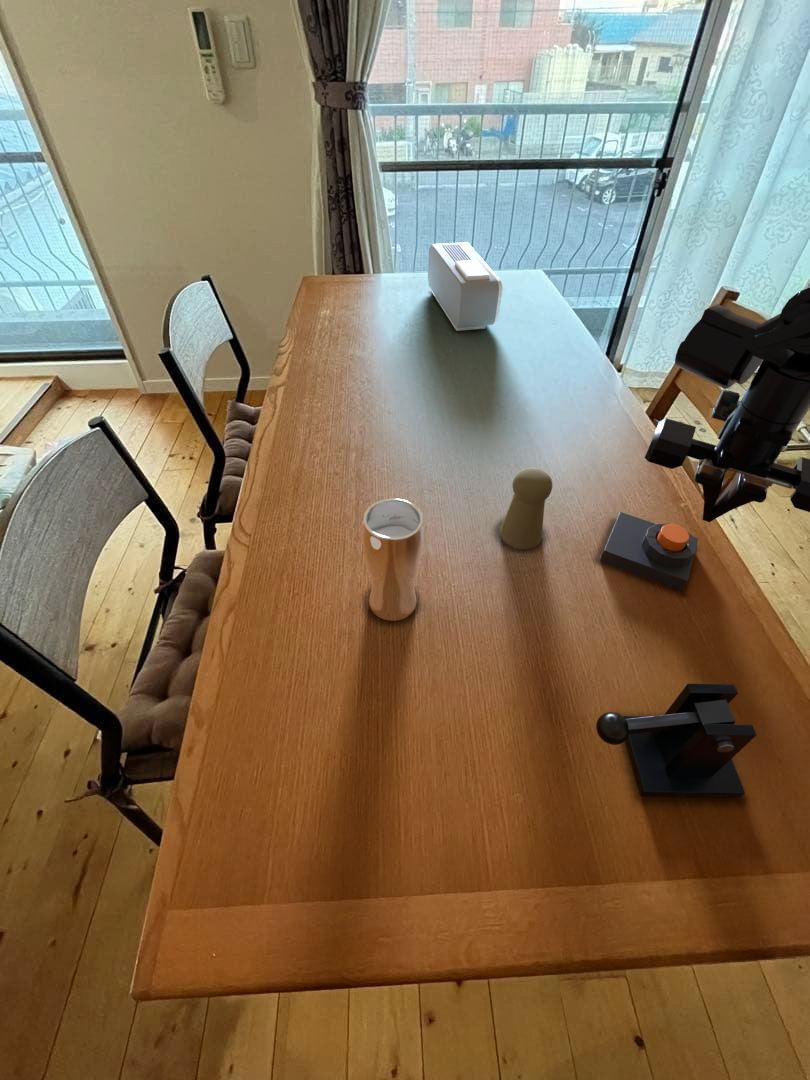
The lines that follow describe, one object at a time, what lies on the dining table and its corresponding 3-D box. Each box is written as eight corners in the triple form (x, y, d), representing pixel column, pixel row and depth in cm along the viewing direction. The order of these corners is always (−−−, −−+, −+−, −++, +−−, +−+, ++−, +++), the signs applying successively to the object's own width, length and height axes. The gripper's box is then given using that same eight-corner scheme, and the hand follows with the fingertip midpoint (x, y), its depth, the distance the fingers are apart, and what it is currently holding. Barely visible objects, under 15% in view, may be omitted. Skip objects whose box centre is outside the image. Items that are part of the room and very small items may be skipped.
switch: (600, 751, 54) (599, 738, 51) (593, 722, 56) (592, 708, 54) (733, 738, 51) (738, 724, 49) (720, 708, 53) (725, 693, 51)
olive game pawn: (549, 542, 79) (567, 483, 72) (512, 553, 78) (526, 494, 70) (528, 515, 83) (542, 457, 75) (492, 525, 82) (503, 466, 74)
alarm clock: (497, 333, 125) (504, 278, 117) (457, 336, 124) (462, 281, 115) (461, 285, 144) (466, 235, 135) (426, 288, 142) (429, 237, 133)
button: (686, 538, 75) (691, 529, 74) (682, 555, 73) (687, 546, 72) (659, 529, 77) (664, 520, 75) (654, 546, 74) (658, 536, 73)
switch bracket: (640, 796, 55) (681, 750, 47) (619, 720, 61) (653, 668, 53) (740, 797, 55) (797, 752, 47) (710, 722, 61) (756, 670, 53)
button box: (692, 548, 79) (703, 529, 76) (681, 591, 74) (693, 572, 71) (615, 522, 83) (623, 502, 80) (599, 561, 77) (607, 541, 74)
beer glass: (359, 589, 73) (353, 504, 62) (408, 575, 75) (411, 491, 64) (375, 630, 68) (373, 547, 58) (428, 615, 70) (434, 531, 59)
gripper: (874, 396, 58) (793, 506, 69) (688, 350, 63) (642, 458, 75) (880, 453, 51) (789, 564, 62) (670, 396, 57) (623, 507, 68)
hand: (706, 519), depth 67 cm, fingers closed
